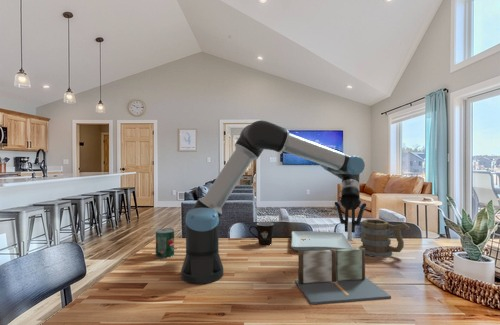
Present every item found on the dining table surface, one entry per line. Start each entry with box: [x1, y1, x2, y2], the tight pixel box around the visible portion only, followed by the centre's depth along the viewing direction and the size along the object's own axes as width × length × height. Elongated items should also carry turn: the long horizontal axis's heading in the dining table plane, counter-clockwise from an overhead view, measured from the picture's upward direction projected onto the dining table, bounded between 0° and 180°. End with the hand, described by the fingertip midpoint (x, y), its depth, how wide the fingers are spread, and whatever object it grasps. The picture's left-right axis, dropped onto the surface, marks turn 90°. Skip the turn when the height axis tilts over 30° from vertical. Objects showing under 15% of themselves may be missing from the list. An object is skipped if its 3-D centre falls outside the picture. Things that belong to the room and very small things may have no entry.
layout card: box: [294, 276, 392, 305], centre depth 88 cm, size 25×15×1 cm, turn 98°
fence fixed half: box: [297, 249, 336, 284], centre depth 92 cm, size 13×2×10 cm, turn 98°
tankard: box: [358, 218, 411, 258], centre depth 121 cm, size 20×13×15 cm, turn 44°
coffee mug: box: [248, 221, 275, 246], centre depth 138 cm, size 12×9×10 cm
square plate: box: [290, 230, 355, 252], centre depth 135 cm, size 27×27×4 cm
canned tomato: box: [155, 228, 175, 259], centre depth 121 cm, size 8×8×11 cm
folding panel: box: [336, 247, 366, 281], centre depth 94 cm, size 10×2×10 cm, turn 98°
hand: (349, 238), depth 106 cm, fingers closed
